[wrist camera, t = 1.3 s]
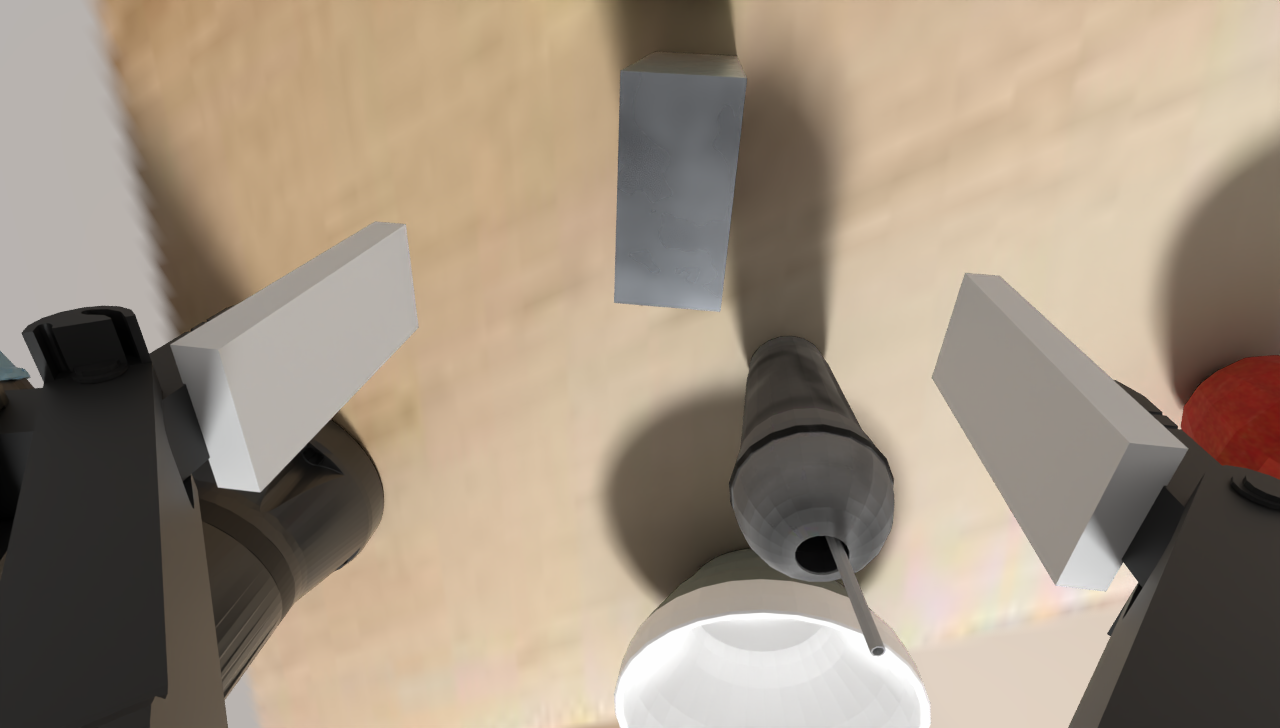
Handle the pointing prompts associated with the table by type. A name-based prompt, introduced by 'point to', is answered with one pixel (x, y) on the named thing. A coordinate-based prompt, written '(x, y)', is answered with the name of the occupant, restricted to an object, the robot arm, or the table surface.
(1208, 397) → the apple
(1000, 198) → the table surface
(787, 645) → the bowl
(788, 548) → the beverage cup
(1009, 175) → the table surface
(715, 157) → the brushed steel block
